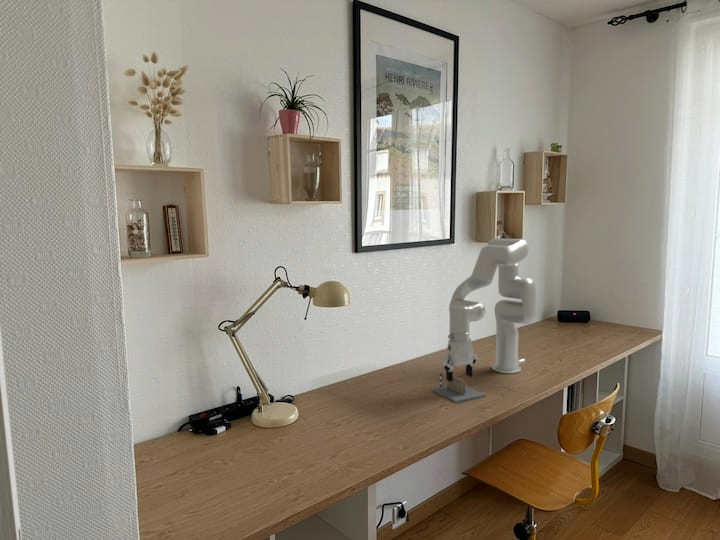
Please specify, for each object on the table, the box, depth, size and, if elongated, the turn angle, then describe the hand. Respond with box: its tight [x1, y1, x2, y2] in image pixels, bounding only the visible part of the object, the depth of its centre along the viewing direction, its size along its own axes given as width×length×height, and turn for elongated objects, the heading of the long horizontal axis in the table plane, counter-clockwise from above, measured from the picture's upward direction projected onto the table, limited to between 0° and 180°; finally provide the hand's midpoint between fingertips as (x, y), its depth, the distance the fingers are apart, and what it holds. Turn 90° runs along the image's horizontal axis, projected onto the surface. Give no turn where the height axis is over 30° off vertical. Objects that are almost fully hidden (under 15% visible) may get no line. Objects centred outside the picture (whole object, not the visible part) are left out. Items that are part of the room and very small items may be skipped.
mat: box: [431, 384, 486, 404], centre depth 199 cm, size 14×15×1 cm
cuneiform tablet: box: [439, 373, 466, 395], centre depth 200 cm, size 6×4×12 cm
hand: (459, 378), depth 199 cm, fingers open, 9 cm apart
